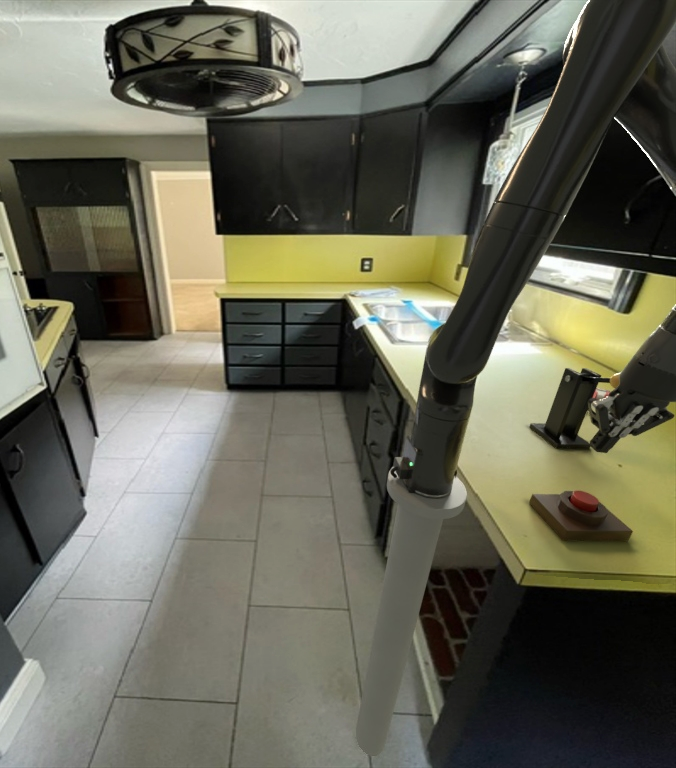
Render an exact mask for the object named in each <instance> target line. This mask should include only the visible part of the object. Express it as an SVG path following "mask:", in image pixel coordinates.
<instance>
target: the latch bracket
mask: <svg viewBox="0 0 676 768" xmlns="http://www.w3.org/2000/svg"><path fill="white" fill-rule="evenodd" d="M580 373H582V374H590V377H598V378H602V374H600V373H597V372H595V371H593V370H591V369H589V368H587V367H585V368H583V367H582V368H581V371H580V372H578V371H577V370H574V369H572V368H571V367H565V368H564V371H563V373H562V377H561V379H560V382H559V384H558V387H557V391H556V393H555V396H554V399H553V401H552V404H551V407H550V410H549V412H548V416H547V418H546V421H545V422H542V423H541V422H540V423H539V422H531V423H530V424H529V428H530V429H531V430H532V431H534V433H536V434H537V435H538V436H540V437H541V438H543V440H545V441H546V442H547V443H549V444H550V445H551V446H552V447H554V448H555V449H559V450H561V449H566V450H567V449H570V450H571V449H573V450H574V449H575V450H577V449H579V450H590V449H591V448H592V447H591V446H590V442H588V441H587V440H585V439H584V438H582V436H580V435H579V432H580V430H581V427H582V424H583V422H584V419H585V417H586V415H587V413H588V411H589V409H588V408H589V407H588V400H589V399H591V398H593V395H594V393H595V390H596V388H598V386H599V383H600V382H590V384H581V381H582V379H583V376H584V375H582V374H580Z"/></svg>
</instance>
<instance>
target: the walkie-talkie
mask: <svg viewBox="0 0 676 768" xmlns="http://www.w3.org/2000/svg"><path fill="white" fill-rule="evenodd" d="M611 391H612V390H607V389H603V388H599V387H597V388H596V390H595V393H594V395H593V398H596V399H597V400H600V399H603V398H606V397H608V395H609V393H610V392H611ZM588 410H589V408H588Z"/></svg>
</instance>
